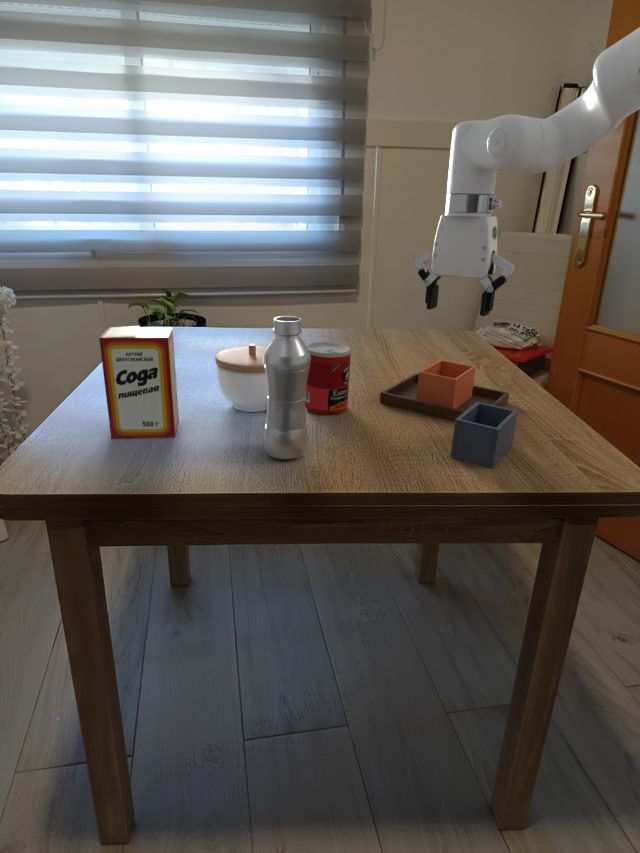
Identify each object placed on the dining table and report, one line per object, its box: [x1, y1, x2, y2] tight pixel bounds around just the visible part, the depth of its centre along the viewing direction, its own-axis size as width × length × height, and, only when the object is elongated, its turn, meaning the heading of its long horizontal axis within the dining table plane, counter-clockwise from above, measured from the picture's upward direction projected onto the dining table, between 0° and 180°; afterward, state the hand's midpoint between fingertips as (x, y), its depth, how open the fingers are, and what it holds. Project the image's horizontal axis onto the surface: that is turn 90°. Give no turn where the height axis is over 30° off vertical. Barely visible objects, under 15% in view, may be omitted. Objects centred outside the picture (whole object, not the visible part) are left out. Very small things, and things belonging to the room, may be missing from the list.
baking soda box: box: [98, 325, 180, 440], centre depth 88 cm, size 10×6×16 cm
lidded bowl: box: [214, 343, 268, 413], centre depth 100 cm, size 13×13×11 cm
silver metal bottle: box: [262, 315, 311, 460], centre depth 80 cm, size 6×7×20 cm
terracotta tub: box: [416, 359, 477, 409], centre depth 106 cm, size 7×10×6 cm
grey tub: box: [450, 402, 519, 469], centre depth 86 cm, size 6×9×6 cm
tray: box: [379, 372, 510, 422], centre depth 106 cm, size 19×15×2 cm
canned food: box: [305, 341, 352, 416], centre depth 100 cm, size 8×8×11 cm
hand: (457, 311), depth 100 cm, fingers open, 9 cm apart
